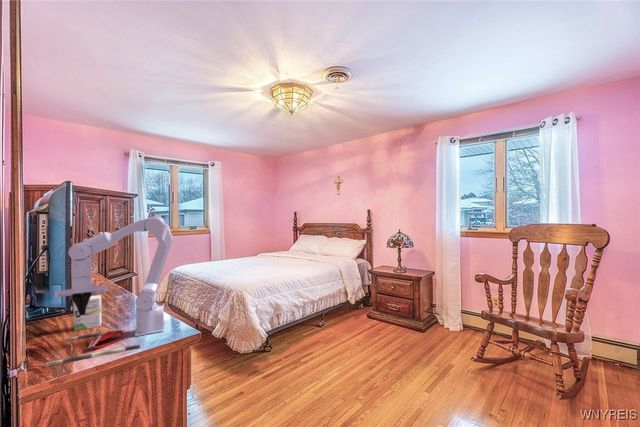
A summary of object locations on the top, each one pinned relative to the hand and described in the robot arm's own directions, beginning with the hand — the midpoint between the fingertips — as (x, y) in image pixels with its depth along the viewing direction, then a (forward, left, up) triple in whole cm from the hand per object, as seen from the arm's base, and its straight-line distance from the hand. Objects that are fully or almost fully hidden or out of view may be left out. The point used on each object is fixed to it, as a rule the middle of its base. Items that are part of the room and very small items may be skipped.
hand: (82, 314), depth 107 cm
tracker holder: (-6, +6, -10) cm, 13 cm away
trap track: (-5, +7, -9) cm, 13 cm away
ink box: (+1, -16, -10) cm, 19 cm away
